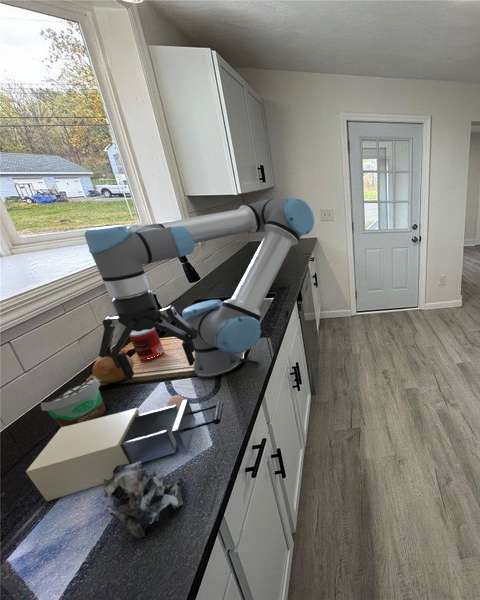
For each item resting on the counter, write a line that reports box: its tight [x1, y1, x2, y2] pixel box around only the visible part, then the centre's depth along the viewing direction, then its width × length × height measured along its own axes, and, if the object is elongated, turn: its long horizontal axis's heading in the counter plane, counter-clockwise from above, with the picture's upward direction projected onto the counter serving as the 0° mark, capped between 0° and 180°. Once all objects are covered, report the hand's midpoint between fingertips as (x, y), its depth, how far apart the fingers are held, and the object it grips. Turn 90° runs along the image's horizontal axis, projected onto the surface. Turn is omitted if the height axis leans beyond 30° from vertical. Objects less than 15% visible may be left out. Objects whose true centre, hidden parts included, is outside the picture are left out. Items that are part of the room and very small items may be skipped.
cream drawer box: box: [25, 407, 141, 502], centre depth 70 cm, size 15×13×9 cm
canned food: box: [128, 327, 165, 362], centre depth 115 cm, size 8×8×11 cm
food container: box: [40, 375, 106, 428], centre depth 85 cm, size 12×6×10 cm, turn 168°
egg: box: [166, 394, 186, 411], centre depth 86 cm, size 4×4×6 cm
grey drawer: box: [120, 398, 224, 465], centre depth 76 cm, size 21×11×7 cm, turn 113°
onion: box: [91, 351, 135, 384], centre depth 102 cm, size 10×10×10 cm
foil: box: [96, 460, 184, 539], centre depth 61 cm, size 12×11×15 cm
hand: (162, 369), depth 81 cm, fingers open, 13 cm apart
